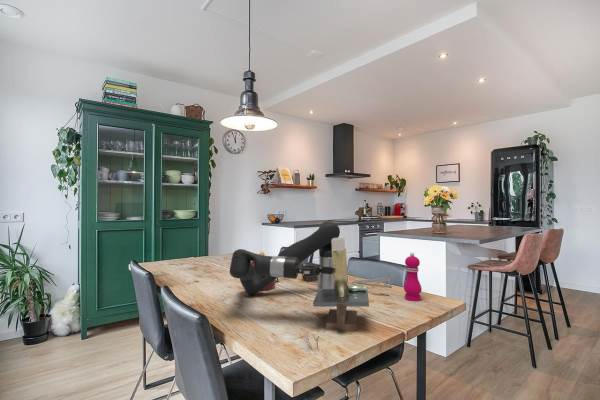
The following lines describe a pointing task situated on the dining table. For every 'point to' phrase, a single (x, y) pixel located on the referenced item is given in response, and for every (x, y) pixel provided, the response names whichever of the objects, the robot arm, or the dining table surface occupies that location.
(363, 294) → the brushed metal stamp
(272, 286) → the canister
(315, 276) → the cupcake
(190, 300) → the dining table surface
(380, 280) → the caliper
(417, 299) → the pepper mill
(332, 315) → the stand
